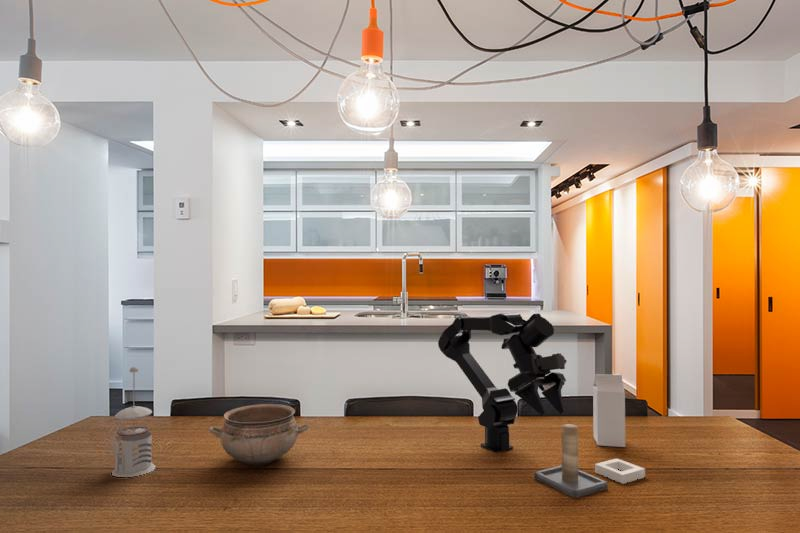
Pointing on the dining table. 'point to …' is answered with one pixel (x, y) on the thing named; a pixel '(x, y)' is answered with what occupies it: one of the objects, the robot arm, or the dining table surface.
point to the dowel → (570, 453)
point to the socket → (627, 474)
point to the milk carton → (609, 410)
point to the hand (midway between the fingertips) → (553, 414)
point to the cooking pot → (259, 433)
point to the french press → (132, 443)
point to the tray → (575, 490)
